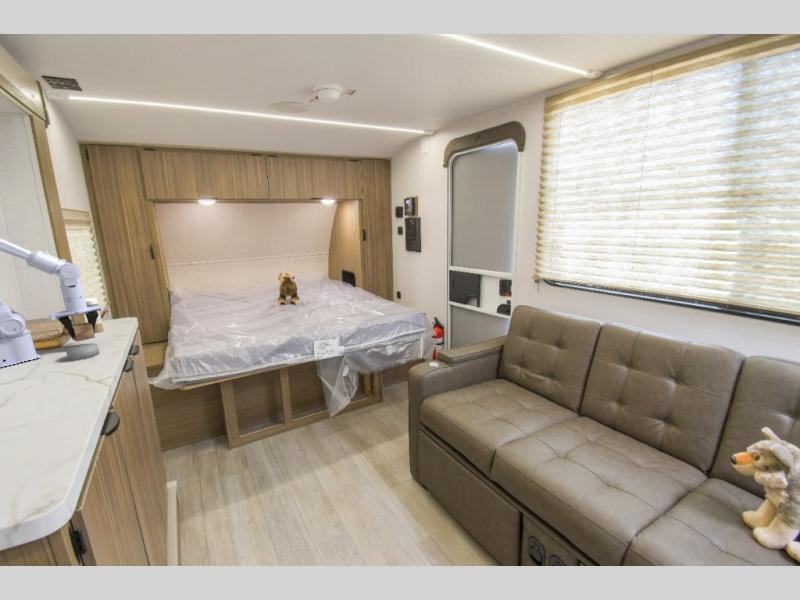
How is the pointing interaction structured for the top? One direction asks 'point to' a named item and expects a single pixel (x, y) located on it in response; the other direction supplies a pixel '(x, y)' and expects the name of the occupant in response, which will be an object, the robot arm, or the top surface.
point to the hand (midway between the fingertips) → (82, 334)
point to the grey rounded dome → (82, 351)
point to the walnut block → (83, 331)
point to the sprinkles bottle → (98, 322)
